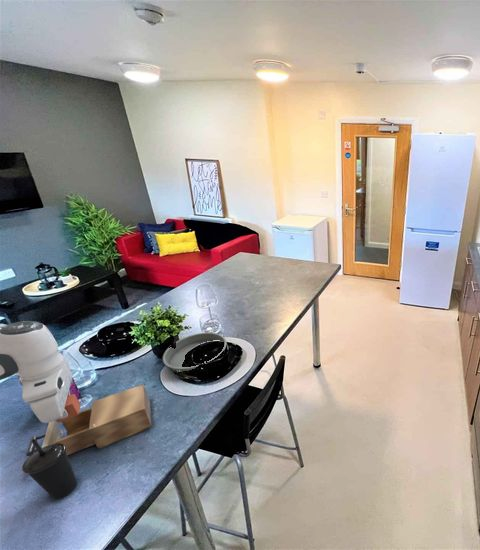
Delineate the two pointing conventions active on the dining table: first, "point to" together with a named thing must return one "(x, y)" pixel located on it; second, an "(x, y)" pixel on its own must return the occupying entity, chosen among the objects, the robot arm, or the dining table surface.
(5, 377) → the robot arm
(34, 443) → the drinking cup
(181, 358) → the cake pan
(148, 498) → the dining table surface
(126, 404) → the cabinet
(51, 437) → the drawer
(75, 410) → the block
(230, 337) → the dining table surface
